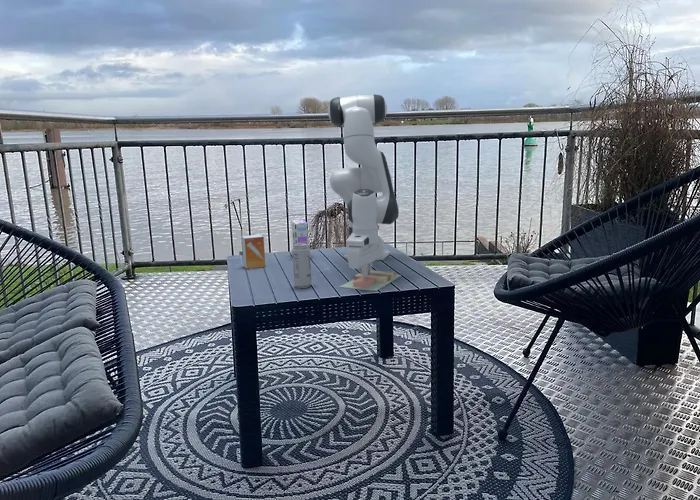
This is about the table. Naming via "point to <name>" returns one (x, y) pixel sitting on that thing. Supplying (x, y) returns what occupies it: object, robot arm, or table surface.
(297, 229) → the candy box
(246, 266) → the small box
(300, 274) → the energy drink can
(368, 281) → the tile
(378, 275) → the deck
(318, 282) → the table surface
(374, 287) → the mat
